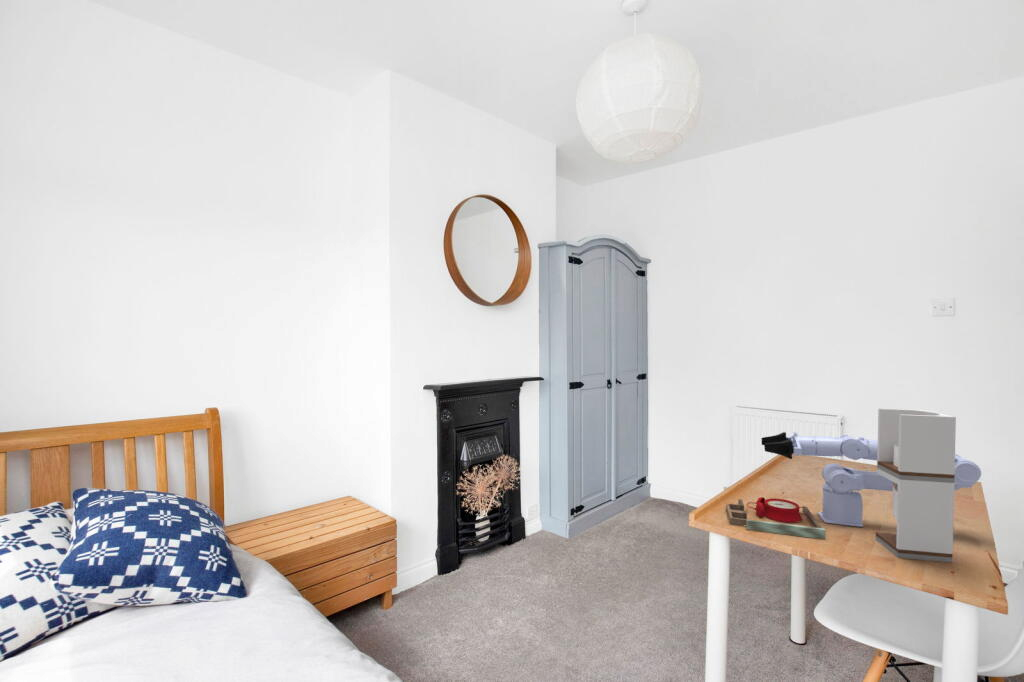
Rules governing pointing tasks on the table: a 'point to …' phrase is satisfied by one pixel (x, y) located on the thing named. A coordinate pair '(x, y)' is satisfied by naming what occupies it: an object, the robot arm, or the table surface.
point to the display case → (918, 481)
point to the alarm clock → (778, 510)
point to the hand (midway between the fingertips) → (763, 444)
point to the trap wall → (786, 526)
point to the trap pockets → (735, 514)
